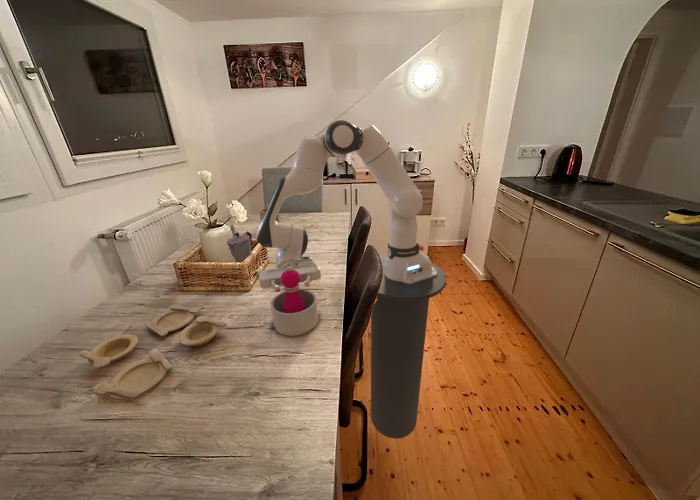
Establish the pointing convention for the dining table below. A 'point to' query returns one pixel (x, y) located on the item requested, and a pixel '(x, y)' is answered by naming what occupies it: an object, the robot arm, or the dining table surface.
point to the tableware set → (154, 368)
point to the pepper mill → (292, 291)
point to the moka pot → (240, 246)
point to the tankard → (263, 211)
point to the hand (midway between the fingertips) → (292, 286)
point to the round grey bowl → (295, 314)
